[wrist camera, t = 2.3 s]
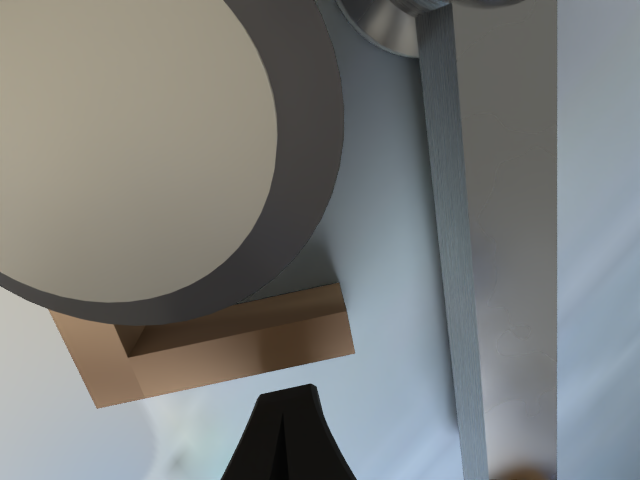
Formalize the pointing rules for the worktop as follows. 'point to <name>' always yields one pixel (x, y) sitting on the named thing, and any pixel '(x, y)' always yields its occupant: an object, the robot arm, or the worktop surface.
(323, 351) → the tan wooden u-shaped piece
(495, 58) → the grey long bar
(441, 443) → the worktop surface
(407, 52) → the grey metal disc
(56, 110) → the plug
